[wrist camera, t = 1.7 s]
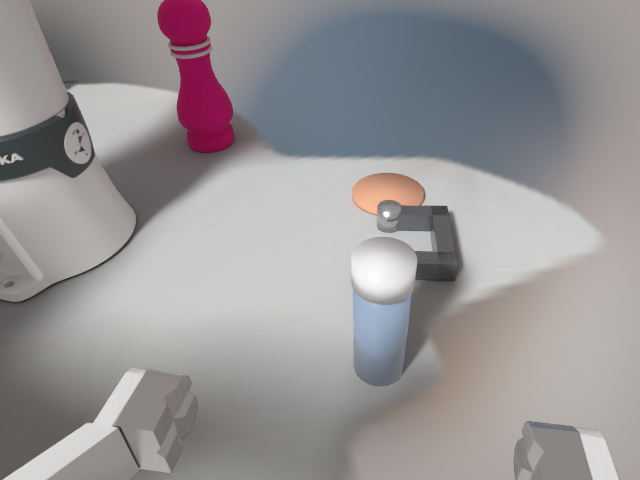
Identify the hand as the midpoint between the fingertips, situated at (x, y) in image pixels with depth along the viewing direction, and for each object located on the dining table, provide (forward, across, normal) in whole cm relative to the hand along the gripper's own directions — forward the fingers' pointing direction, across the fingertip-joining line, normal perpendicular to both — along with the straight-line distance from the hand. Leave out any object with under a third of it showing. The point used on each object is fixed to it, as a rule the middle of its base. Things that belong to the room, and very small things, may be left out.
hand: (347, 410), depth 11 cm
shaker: (+17, 0, -18) cm, 25 cm away
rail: (+27, +2, -18) cm, 33 cm away
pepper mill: (+50, -26, -16) cm, 58 cm away
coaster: (+39, -1, -17) cm, 42 cm away
